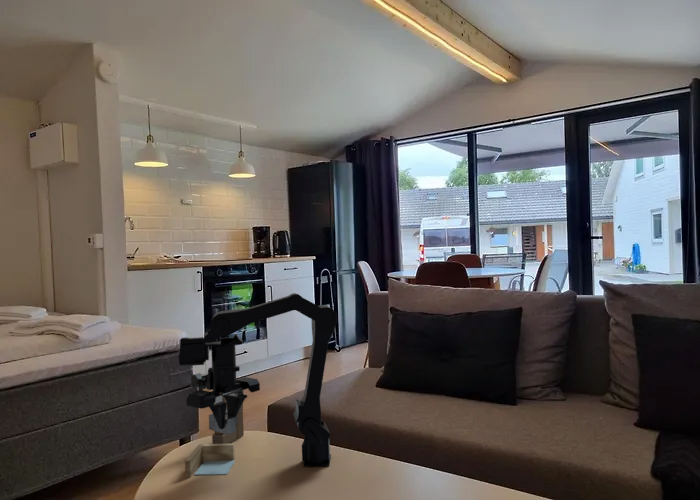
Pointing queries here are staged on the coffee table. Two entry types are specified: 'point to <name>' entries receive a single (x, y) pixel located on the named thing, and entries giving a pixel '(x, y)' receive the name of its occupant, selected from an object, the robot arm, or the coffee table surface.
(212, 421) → the bracket
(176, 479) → the coffee table surface
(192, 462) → the corner walls
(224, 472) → the pad
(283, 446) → the coffee table surface
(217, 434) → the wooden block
